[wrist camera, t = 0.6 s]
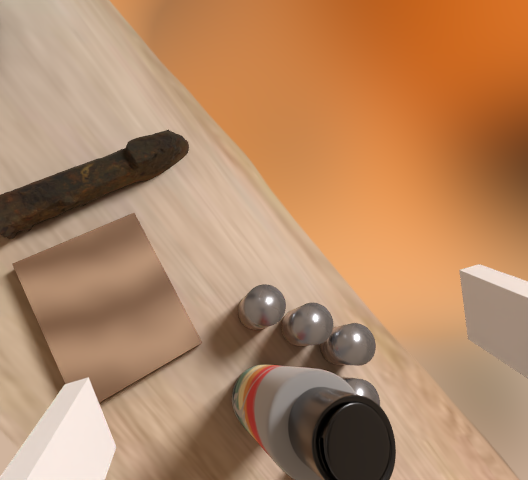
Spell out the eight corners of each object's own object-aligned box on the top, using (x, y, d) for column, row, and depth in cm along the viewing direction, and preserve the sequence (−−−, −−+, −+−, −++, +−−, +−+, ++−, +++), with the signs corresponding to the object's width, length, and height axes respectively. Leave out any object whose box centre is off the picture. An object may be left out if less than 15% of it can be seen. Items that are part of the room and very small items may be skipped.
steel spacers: (208, 316, 34) (212, 311, 30) (305, 262, 38) (320, 250, 34) (306, 500, 31) (325, 522, 27) (401, 421, 35) (431, 429, 31)
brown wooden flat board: (18, 267, 32) (12, 263, 31) (135, 217, 36) (134, 212, 35) (82, 412, 30) (78, 414, 29) (201, 343, 33) (202, 342, 32)
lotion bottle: (226, 371, 33) (281, 388, 14) (284, 358, 34) (401, 359, 16) (236, 438, 32) (312, 553, 13) (296, 422, 33) (442, 505, 14)
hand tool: (10, 246, 33) (-16, 229, 28) (-5, 209, 33) (-33, 187, 29) (198, 175, 39) (200, 152, 35) (182, 145, 40) (182, 119, 35)
